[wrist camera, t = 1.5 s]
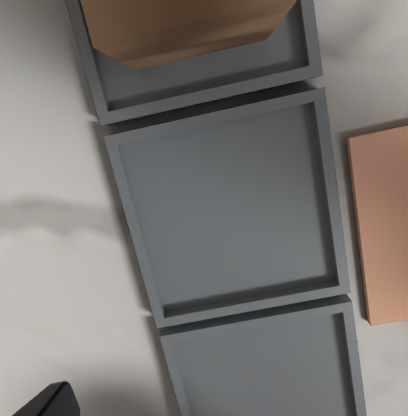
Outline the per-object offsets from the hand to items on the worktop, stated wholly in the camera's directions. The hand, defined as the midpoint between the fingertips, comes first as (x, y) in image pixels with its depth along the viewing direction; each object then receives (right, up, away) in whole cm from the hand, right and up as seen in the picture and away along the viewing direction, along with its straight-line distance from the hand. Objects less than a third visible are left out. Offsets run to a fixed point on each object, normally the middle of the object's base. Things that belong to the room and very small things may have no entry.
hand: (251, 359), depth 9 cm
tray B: (0, +3, +10) cm, 10 cm away
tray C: (+2, -7, +12) cm, 14 cm away
